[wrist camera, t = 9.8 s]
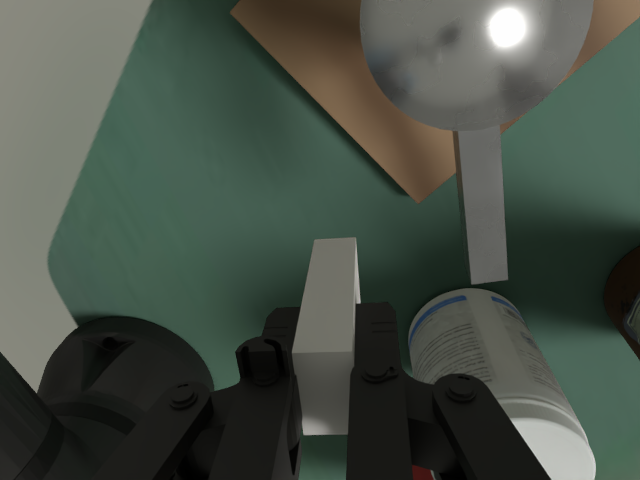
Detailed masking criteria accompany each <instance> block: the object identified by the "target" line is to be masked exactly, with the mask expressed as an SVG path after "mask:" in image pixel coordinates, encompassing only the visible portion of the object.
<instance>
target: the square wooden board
mask: <svg viewBox="0 0 640 480" xmlns="http://www.w3.org/2000/svg"><path fill="white" fill-rule="evenodd" d="M360 7H361V0H239V2H238V3H237V4H236V5H235V7H234V8H233V9H232V10H231V12H230V14H231V15H232V16H233V17H234V18H235V19H236V20H237V21H238V22H239V23H240V24H241V25H242V26H243V27H244V28H245V29H246V30H247V31H248V32H249V33H250V34H251V35H252V36H253V37H254V38H255V39H256V40H257V41H258V42H259V43H260V44H261V45H262V46H263V47H264V48H265V49H266V50H267V51H268V52H269V53H270V54H271V55H272V56H273V57H274V58H275V59H276V60H277V61H278V62H279V63H280V64H281V65H282V66H283V67H284V68H285V69H286V70H287V71H288V73H289V74H290V75H291V76H292V77H293V78H294V79H295V80H296V81H297V82H298V83H299V84H300V85H301V86H302V87H303V88H304V89H305V90H306V91H307V92H308V93H309V94H310V95H311V96H312V97H313V98H314V99H315V100H316V101H317V102H318V103H319V104H320V105H321V106H322V107H323V108H324V109H325V110H326V111H327V112H328V113H329V114H330V115H331V116H332V117H333V118H334V119H335V120H336V121H337V122H338V123H339V124H340V125H341V126H342V127H343V128H344V129H345V130H346V131H347V132H348V133H349V134H350V135H351V136H352V137H353V138H354V139H355V140H356V141H357V143H358V144H359V145H360V146H361V147H362V148H363V149H364V150H365V151H366V152H367V153H368V154H369V155H370V156H371V157H372V158H373V159H374V160H375V161H376V162H377V163H378V164H379V165H380V166H381V167H382V168H383V169H384V170H385V171H386V172H387V173H388V174H389V175H390V176H391V177H392V178H393V179H394V180H395V181H396V182H397V183H398V184H399V185H400V186H401V187H402V188H403V189H404V190H405V191H406V192H407V193H408V194H409V195H410V196H411V197H412V198H413V199H414V200H415V201H416V202H417V203H418V204H419V203H420V202H421V201H423V200H424V199H425V198H426V197H427V196H429V195H430V194H431V193H432V192H433V191H434V190H436V189H437V188H438V187H439V186H440V185H442V184H443V183H444V182H445V181H446V180H447V179H449V178H450V177H451V176H452V175H453V174H454V173H456V165H455V155H454V144H453V133H452V131H450V130H443V129H438V128H435V127H431V126H428V125H425V124H423V123H421V122H419V121H416V120H414V119H413V118H411V117H409V116H408V115H406V114H405V113H403V112H402V111H401V110H399V109H398V108H397V107H396V106H395V105H393V104H392V102H391V101H390V100H389V99H388V98H387V97H386V96H385V95H384V94H383V92H382V91H381V89H380V88H379V86H378V85H377V84H376V82H375V80H374V78H373V76H372V74H371V72H370V70H369V67H368V65H367V62H366V59H365V56H364V52H363V47H362V43H361V33H360ZM639 17H640V0H594V2H593V12H592V16H591V21H590V26H589V29H588V32H587V35H586V38H585V41H584V44H583V46H582V48H581V50H580V52H579V55H578V57H577V59H576V60H575V62H574V64H573V65H572V67H571V68H570V70H569V72H568V73H567V74H566V76H565V77H564V78H563V80H562V81H561V82H560V83H559V85H560V84H561V83H562V82H563V81H564V80H566V79H567V78H568V77H569V76H570V75H571V74H573V73H574V72H575V71H576V70H577V69H579V68H580V67H581V66H582V65H583V64H584V63H586V62H587V61H588V60H589V59H590V58H592V57H593V56H594V55H595V54H596V53H597V52H599V51H600V50H601V49H602V48H603V47H605V46H606V45H607V44H608V43H609V42H610V41H612V40H613V39H614V38H615V37H616V36H618V35H619V34H620V33H621V32H622V31H623V30H625V29H626V28H627V27H628V26H629V25H631V24H632V23H633V22H634V21H635V20H636V19H638V18H639ZM527 112H528V111H527ZM527 112H526V113H527ZM524 114H525V113H524ZM524 114H523V115H524ZM523 115H521V116H519V117H517V118H515V119H513V120H511V121H509V122H506V123H503V124H501V125H500V135H501V134H502V133H503V132H504V131H505V130H506V129H508V128H509V127H510V126H511V125H512V124H514V123H515V122H516V121H517V120H518V119H519V118H521V117H522V116H523Z"/></svg>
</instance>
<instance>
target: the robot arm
mask: <svg viewBox="0 0 640 480" xmlns="http://www.w3.org/2000/svg"><path fill="white" fill-rule="evenodd" d="M235 353H236V358H237V363H238V368H239V373H240V381H239V383H237V384H236V385H234V386H231V387H228V388H225V389H222V390H218V391H214V384H213V380H212V377H211V374H210V372H209V370H208V368H207V366H206V364H205V363H204V361H203V360H202V358H201V357H200V356H199V354H198V353H197V352H196V351H195V350H194V349H193V348H192V347H191V346H190V345H189V344H188V343H187V342H185V341H184V340H183V339H181V338H180V337H179V336H177V335H176V334H174V333H172V332H171V331H169V330H167V329H165V328H163V327H161V326H158V325H156V324H153V323H150V322H147V321H143V320H139V319H133V318H125V317H111V318H103V319H98V320H94V321H91V322H88V323H86V324H84V325H82V326H80V327H78V328H77V329H75V330H74V331H73V332H71V333H70V334H69V335H68V336H67V337H66V338H65V340H64V341H63V342H62V343H61V344H60V345H59V347H58V348H57V349H56V350H55V351H54V353H53V354H52V356H51V357H50V359H49V361H48V362H47V365H46V367H45V370H44V373H43V376H42V380H41V383H40V385H39V389H38V392H37V394H36V392H35V391H34V390H33V389H32V388H31V387H30V386H29V384H28V383H27V382H26V381H25V380H24V379H23V378H22V376H21V375H20V374H19V373H18V372H17V371H16V369H15V368H14V367H13V366H12V365H11V364H10V363H9V361H8V360H7V359H6V358H5V357H4V356H3V355H2V353H1V352H0V480H298V477H299V470H300V462H301V455H302V447H301V440H300V432H301V425H302V427H303V434H304V435H348V445H347V470H346V480H413V471H412V465H414V466H418V467H422V468H425V469H429V470H432V471H433V473H434V477H435V479H436V480H551V478H550V477H549V475H548V474H547V472H546V471H545V469H544V468H543V467H542V465H541V464H540V462H539V461H538V459H537V458H536V456H535V455H534V453H533V452H532V450H531V449H530V448H529V446H528V445H527V443H526V442H525V440H524V439H523V437H522V436H521V434H520V433H519V432H518V430H517V429H516V427H515V426H514V424H513V423H512V421H511V420H510V418H509V417H508V416H507V414H506V413H505V411H504V410H503V408H502V407H501V405H500V404H499V402H498V401H497V399H496V398H495V397H494V395H493V394H492V392H491V391H490V389H489V388H488V386H487V385H486V384H485V383H483V382H482V381H481V380H480V379H478V378H476V377H474V376H472V375H467V374H462V373H454V374H448V375H445V376H442V377H440V378H439V379H438V380H437V381H436V382H435V383H434V384H429V383H424V382H421V381H418V380H416V379H414V378H412V377H410V376H409V375H408V374H407V373H405V371H404V370H403V368H402V366H401V362H400V352H399V342H398V332H397V323H396V313H395V310H394V309H393V308H392V307H391V306H390V304H389V303H388V302H383V303H361V301H360V288H359V274H358V260H357V246H356V237H352V238H334V239H315V240H314V245H313V250H312V255H311V259H310V264H309V269H308V274H307V279H306V284H305V289H304V294H303V299H302V304H301V307H286V308H276V309H275V310H274V311H273V312H272V313H271V314H270V315H269V316H268V317H267V320H266V323H265V326H264V330H263V333H262V336H260V337H255V338H252V339H250V340H247V341H245V342H244V343H243V344H241V345H240V346H239V347H238V349H237V350H236V352H235Z"/></svg>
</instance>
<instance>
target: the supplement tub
mask: <svg viewBox="0 0 640 480" xmlns="http://www.w3.org/2000/svg"><path fill="white" fill-rule="evenodd" d="M408 345H409V352H410V358H411V364H412V371H413V377H414V379H416V380H418V381H421V382H424V383H429V384H434V383H435V382H436V381H437V380H438V379H439V378H440V377H442V376H445V375H448V374H454V373H462V374H467V375H472V376H474V377H476V378H478V379H480V380H481V381H482V382H483V383H485V384H486V385H487V386H488V388H489V389H490V391H491V392H492V394H493V395H494V397H495V398H496V399H497V401H498V402H499V404H500V405H501V407H502V408H503V410H504V411H505V413H506V414H507V416H508V417H509V418H510V420H511V421H512V423H513V424H514V426H515V427H516V429H517V430H518V432H519V433H520V434H521V436H522V437H523V439H524V440H525V442H526V443H527V445H528V446H529V448H530V449H531V450H532V452H533V453H534V455H535V456H536V458H537V459H538V461H539V462H540V464H541V465H542V467H543V468H544V469H545V471H546V472H547V474H548V475H549V477H550V478H551V480H594V478H595V471H596V467H595V459H594V456H593V453H592V451H591V448H590V446H589V444H588V440H587V437H586V434H585V432H584V430H583V429H582V427H581V425H580V423H579V421H578V419H577V417H576V415H575V413H574V411H573V410H572V408H571V406H570V404H569V402H568V400H567V399H566V397H565V395H564V393H563V391H562V389H561V388H560V386H559V384H558V382H557V380H556V378H555V377H554V375H553V373H552V371H551V369H550V367H549V366H548V364H547V362H546V360H545V358H544V357H543V355H542V353H541V351H540V349H539V347H538V346H537V344H536V342H535V340H534V338H533V336H532V335H531V333H530V331H529V329H528V327H527V325H526V324H525V322H524V320H523V318H522V316H521V314H520V313H519V311H518V310H517V308H516V307H515V306H514V305H513V304H512V303H511V302H510V301H508V300H507V299H506V298H504V297H502V296H501V295H499V294H497V293H494V292H491V291H488V290H484V289H477V288H464V289H458V290H454V291H450V292H447V293H444V294H442V295H440V296H438V297H436V298H434V299H432V300H431V301H429V302H428V303H427V304H426V305H425V306H423V307H422V308H421V310H420V311H419V312H418V313H417V315H416V316H415V318H414V320H413V322H412V324H411V327H410V330H409V336H408ZM431 474H432V476H433V478H434V480H436V479H435V477H434V473H433V471H432V470H431Z"/></svg>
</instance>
